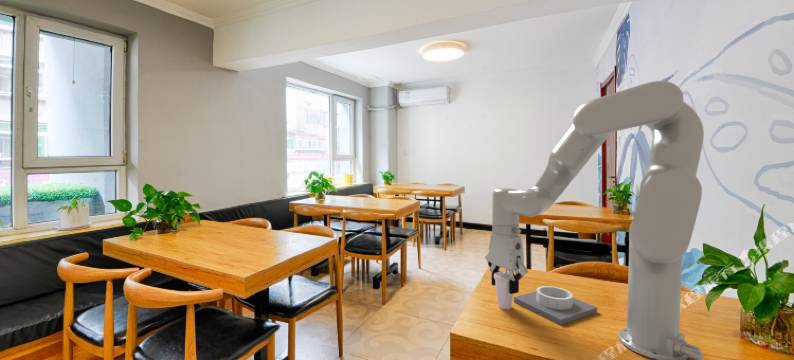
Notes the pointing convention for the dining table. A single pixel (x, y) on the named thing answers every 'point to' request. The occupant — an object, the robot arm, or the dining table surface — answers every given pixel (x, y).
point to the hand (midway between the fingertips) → (504, 288)
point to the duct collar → (555, 304)
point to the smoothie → (503, 289)
